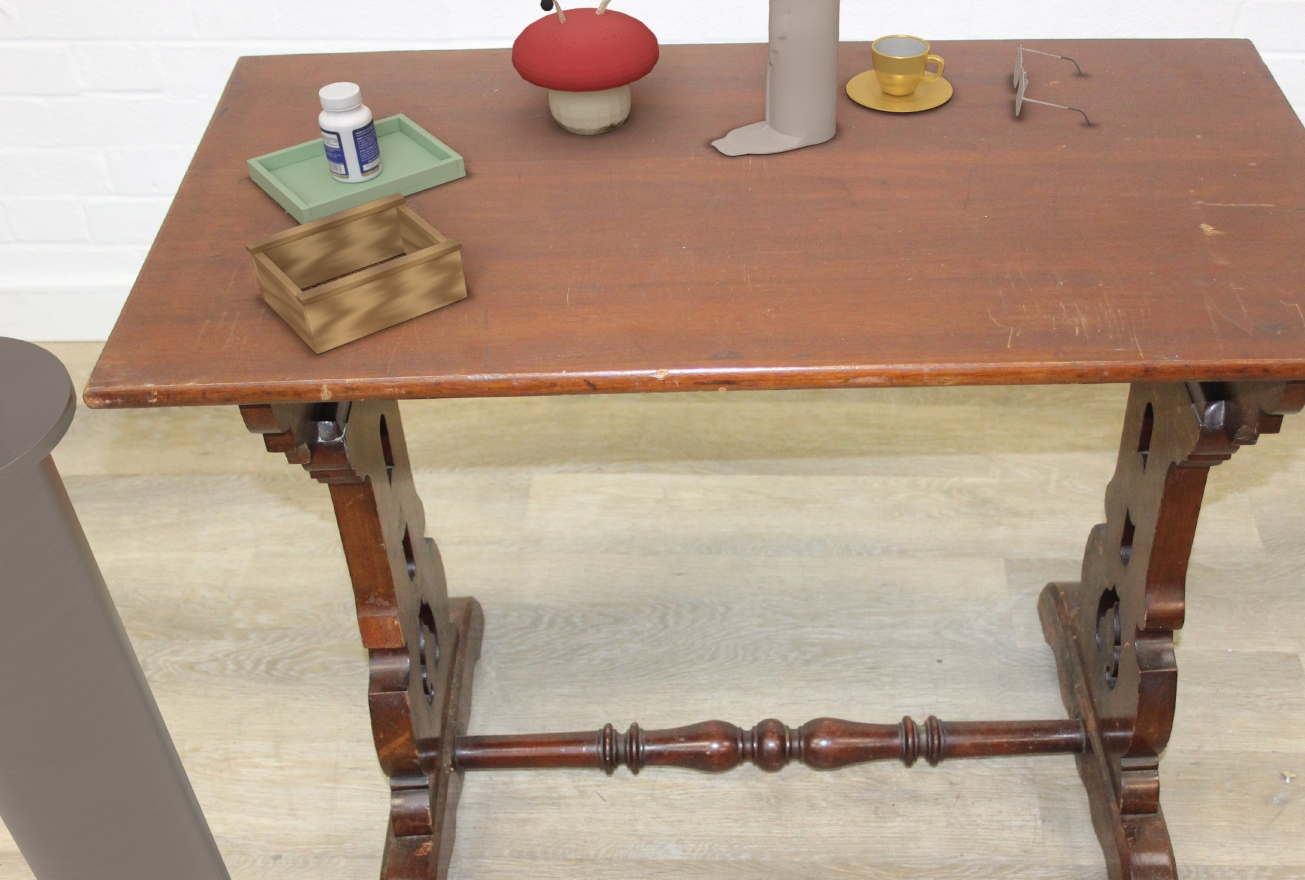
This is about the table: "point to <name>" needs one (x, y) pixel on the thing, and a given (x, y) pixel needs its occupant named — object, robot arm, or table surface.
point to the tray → (316, 194)
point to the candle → (795, 80)
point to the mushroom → (586, 63)
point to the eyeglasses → (1024, 82)
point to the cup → (901, 77)
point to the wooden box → (366, 295)
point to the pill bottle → (348, 134)
